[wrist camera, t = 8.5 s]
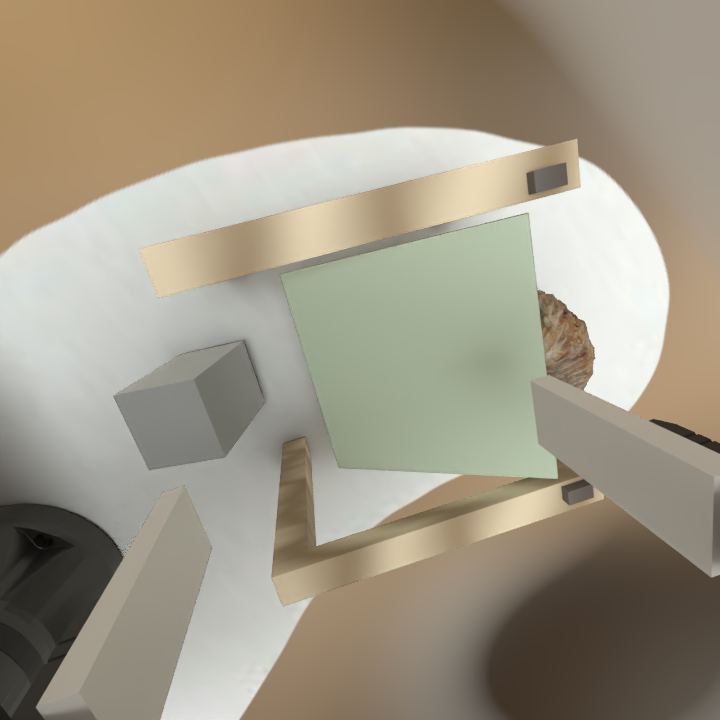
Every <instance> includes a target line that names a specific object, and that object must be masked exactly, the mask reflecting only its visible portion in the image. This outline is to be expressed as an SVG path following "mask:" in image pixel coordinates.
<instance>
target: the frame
mask: <svg viewBox="0 0 720 720" xmlns="http://www.w3.org/2000/svg"><path fill="white" fill-rule="evenodd" d="M580 187H581V186H580V173H579V159H578V146H577V139H574V140H571V141H566V142H563V143H559V144H555V145H551V146H547V147H543V148H539V149H535V150H531V151H527V152H523V153H519V154H515V155H511V156H507V157H503V158H499V159H495V160H491V161H487V162H483V163H479V164H475V165H471V166H467V167H463V168H459V169H455V170H451V171H447V172H443V173H439V174H435V175H431V176H427V177H423V178H419V179H415V180H411V181H407V182H403V183H399V184H395V185H391V186H387V187H383V188H379V189H375V190H371V191H367V192H363V193H359V194H355V195H351V196H347V197H343V198H339V199H336V200H332V201H328V202H324V203H320V204H316V205H312V206H308V207H304V208H300V209H296V210H292V211H288V212H284V213H280V214H276V215H272V216H268V217H264V218H260V219H256V220H252V221H248V222H244V223H240V224H236V225H232V226H228V227H224V228H220V229H216V230H212V231H208V232H204V233H200V234H196V235H192V236H188V237H184V238H180V239H176V240H172V241H168V242H164V243H160V244H156V245H152V246H148V247H144V248H140V249H139V252H140V254H141V257H142V259H143V262H144V264H145V267H146V269H147V272H148V274H149V277H150V279H151V282H152V284H153V286H154V289H155V291H156V294H157V296H158V298H161V297H165V296H169V295H173V294H176V293H180V292H184V291H188V290H192V289H196V288H199V287H203V286H207V285H211V284H215V283H218V282H222V281H226V280H230V279H234V278H237V277H241V276H245V275H249V274H253V273H256V272H260V271H264V270H268V269H272V268H276V267H279V266H283V265H287V264H291V263H295V262H298V261H302V260H306V259H310V258H314V257H317V256H321V255H325V254H329V253H333V252H336V251H340V250H344V249H348V248H352V247H356V246H359V245H363V244H367V243H371V242H375V241H378V240H382V239H386V238H390V237H394V236H397V235H401V234H405V233H409V232H413V231H416V230H420V229H424V228H428V227H432V226H436V225H439V224H443V223H447V222H451V221H455V220H458V219H462V218H466V217H470V216H474V215H477V214H481V213H485V212H489V211H493V210H496V209H500V208H504V207H508V206H512V205H516V204H519V203H523V202H527V201H531V200H535V199H538V198H542V197H546V196H550V195H554V194H557V193H561V192H565V191H569V190H573V189H576V188H580ZM556 460H557V471H558V479H550V478H530V477H528V478H525V479H522V480H519V481H516V482H513V483H510V484H507V485H504V486H501V487H498V488H495V489H491V490H488V491H485V492H482V493H479V494H476V495H473V496H470V497H467V498H464V499H461V500H458V501H455V502H452V503H449V504H445V505H442V506H439V507H436V508H433V509H430V510H427V511H424V512H421V513H418V514H415V515H412V516H409V517H406V518H402V519H399V520H396V521H393V522H390V523H387V524H384V525H381V526H378V527H375V528H372V529H368V530H365V531H362V532H359V533H356V534H353V535H350V536H347V537H344V538H341V539H338V540H335V541H332V542H328V543H325V544H322V545H319V546H316V536H315V518H314V501H313V484H312V466H311V455H310V452H309V448H308V445H307V442H306V439H305V437H303V438H300V439H296V440H293V441H290V442H286V443H283V453H282V464H281V475H280V486H279V498H278V509H277V520H276V531H275V543H274V554H273V565H272V577H271V578H272V581H273V583H274V586H275V588H276V591H277V593H278V596H279V598H280V601H281V603H282V605H283V606H286V605H289V604H292V603H295V602H298V601H301V600H304V599H307V598H310V597H313V596H315V595H318V594H321V593H324V592H327V591H330V590H333V589H336V588H339V587H342V586H345V585H348V584H351V583H354V582H357V581H360V580H363V579H366V578H369V577H372V576H375V575H378V574H381V573H384V572H387V571H390V570H393V569H396V568H399V567H401V566H405V565H408V564H411V563H414V562H417V561H419V560H423V559H426V558H429V557H432V556H434V555H437V554H441V553H444V552H447V551H449V550H453V549H455V548H458V547H461V546H464V545H467V544H470V543H473V542H476V541H479V540H482V539H485V538H488V537H491V536H494V535H497V534H500V533H503V532H506V531H509V530H512V529H515V528H518V527H521V526H524V525H527V524H530V523H533V522H536V521H539V520H542V519H545V518H548V517H551V516H554V515H557V514H560V513H563V512H566V511H568V510H572V509H574V508H577V507H581V506H583V505H586V504H589V503H592V502H595V501H598V500H601V499H603V498H604V496H603V493H601V492H600V491H599V490H597V489H596V488H595V487H594V486H592V485H591V484H590V483H588V482H587V481H586V480H584V479H583V478H582V477H581V476H579V475H578V474H577V473H575V472H574V471H573V470H572V469H570V468H569V467H568V466H566V465H565V464H564V463H562V462H561V461H560V460H559V459H557V458H556Z"/></svg>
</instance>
